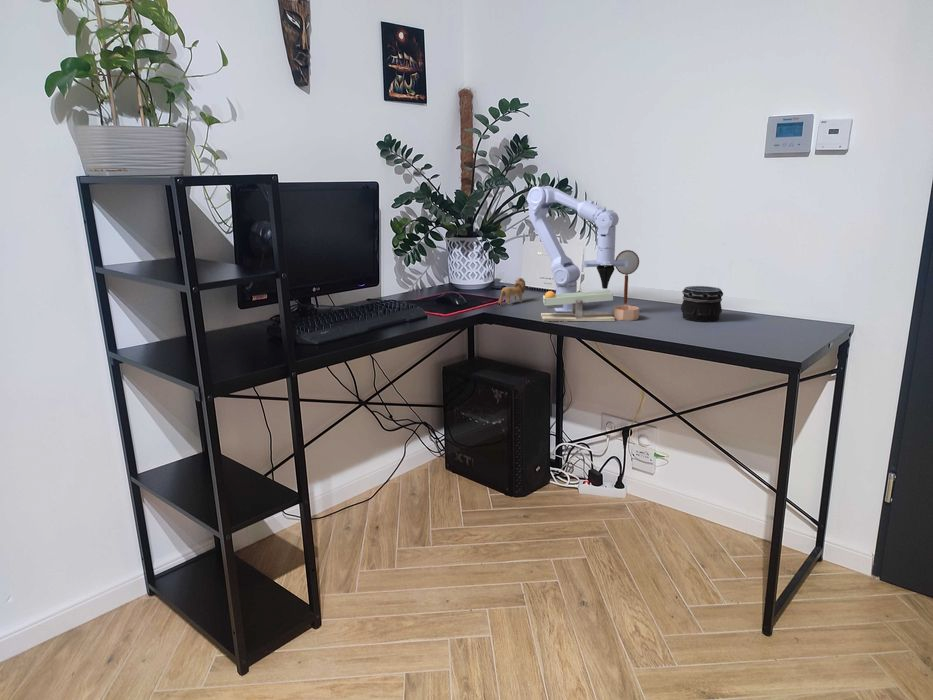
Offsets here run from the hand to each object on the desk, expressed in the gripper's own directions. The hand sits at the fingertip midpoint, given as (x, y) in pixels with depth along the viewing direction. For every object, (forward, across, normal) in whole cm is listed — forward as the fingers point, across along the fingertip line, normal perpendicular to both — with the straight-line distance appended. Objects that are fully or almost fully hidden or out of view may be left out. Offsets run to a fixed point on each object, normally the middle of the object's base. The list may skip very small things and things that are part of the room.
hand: (604, 288), depth 223 cm
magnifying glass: (+9, +10, +14) cm, 19 cm away
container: (+9, +30, -8) cm, 33 cm away
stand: (+9, -10, -7) cm, 15 cm away
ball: (+1, -19, -7) cm, 20 cm away
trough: (+4, -9, -4) cm, 11 cm away
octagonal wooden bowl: (+9, +6, -7) cm, 13 cm away
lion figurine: (+9, -30, +21) cm, 38 cm away
